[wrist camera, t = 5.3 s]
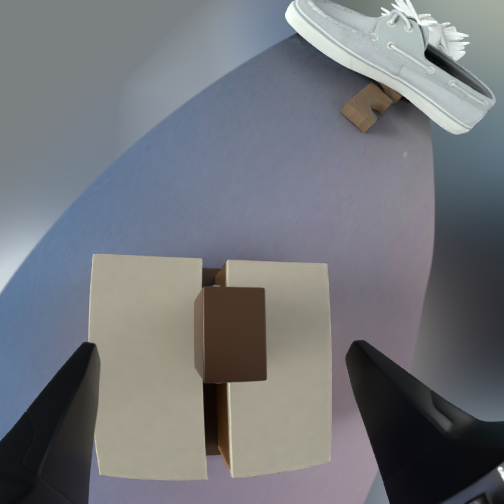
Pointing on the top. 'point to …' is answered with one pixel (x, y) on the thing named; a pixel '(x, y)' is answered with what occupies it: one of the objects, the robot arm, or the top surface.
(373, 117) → the wooden blocks
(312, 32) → the boat shoe
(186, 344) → the beige cardboard box
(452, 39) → the white spiky tuft
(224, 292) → the brown wooden block
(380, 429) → the robot arm
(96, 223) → the top surface
